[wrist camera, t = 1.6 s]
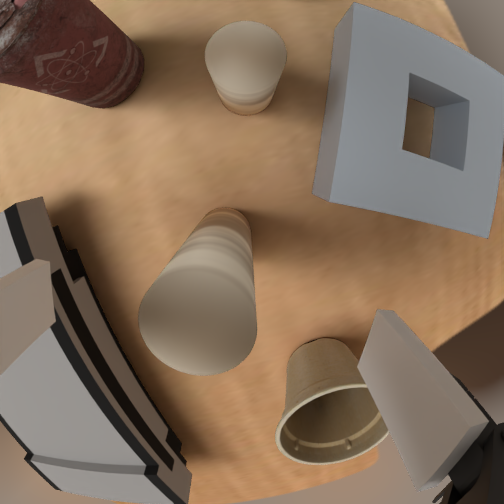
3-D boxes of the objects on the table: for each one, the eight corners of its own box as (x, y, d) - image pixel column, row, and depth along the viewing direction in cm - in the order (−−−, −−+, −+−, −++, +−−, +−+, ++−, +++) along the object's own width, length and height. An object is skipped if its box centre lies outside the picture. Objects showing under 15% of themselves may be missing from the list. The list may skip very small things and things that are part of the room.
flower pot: (266, 402, 28) (272, 470, 20) (269, 322, 25) (279, 390, 17) (356, 395, 28) (381, 455, 20) (373, 317, 26) (415, 375, 17)
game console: (66, 191, 22) (4, 206, 14) (195, 451, 31) (187, 505, 23) (-42, 255, 24) (-86, 278, 16) (73, 451, 32) (55, 489, 24)
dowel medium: (223, 63, 20) (212, 17, 12) (276, 70, 20) (291, 27, 12) (214, 112, 21) (198, 85, 13) (269, 119, 21) (280, 95, 13)
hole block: (334, 28, 19) (353, 2, 14) (470, 83, 19) (503, 75, 15) (311, 193, 22) (328, 201, 18) (453, 225, 23) (487, 238, 18)
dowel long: (201, 204, 23) (138, 262, 9) (254, 211, 23) (266, 281, 9) (196, 255, 24) (140, 364, 10) (247, 262, 24) (247, 381, 10)
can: (157, 41, 19) (77, -56, 5) (132, 113, 20) (12, 72, 7) (95, 37, 18) (-6, -30, 5) (71, 105, 20) (-55, 79, 6)
